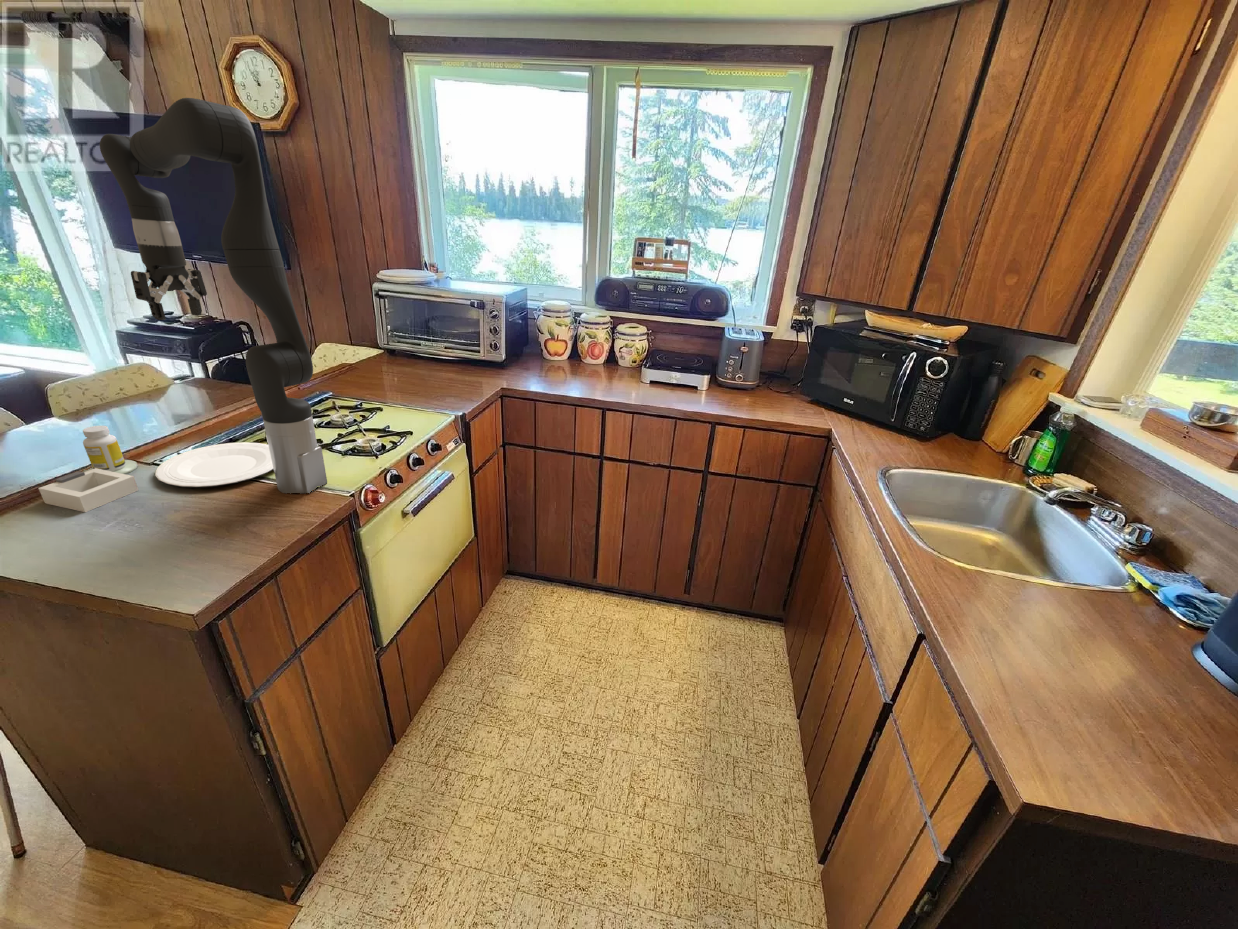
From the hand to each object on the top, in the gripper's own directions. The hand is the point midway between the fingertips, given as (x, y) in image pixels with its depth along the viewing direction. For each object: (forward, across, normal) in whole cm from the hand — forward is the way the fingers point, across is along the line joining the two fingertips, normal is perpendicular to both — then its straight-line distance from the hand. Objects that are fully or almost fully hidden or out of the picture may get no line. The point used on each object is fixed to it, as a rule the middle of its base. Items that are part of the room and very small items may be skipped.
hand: (179, 317), depth 117 cm
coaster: (+33, -19, +7) cm, 39 cm away
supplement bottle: (+33, -19, +7) cm, 38 cm away
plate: (+34, -9, -13) cm, 37 cm away
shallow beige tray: (+33, -29, -2) cm, 44 cm away
